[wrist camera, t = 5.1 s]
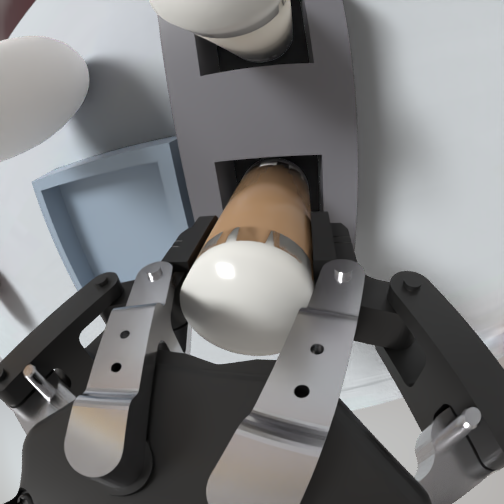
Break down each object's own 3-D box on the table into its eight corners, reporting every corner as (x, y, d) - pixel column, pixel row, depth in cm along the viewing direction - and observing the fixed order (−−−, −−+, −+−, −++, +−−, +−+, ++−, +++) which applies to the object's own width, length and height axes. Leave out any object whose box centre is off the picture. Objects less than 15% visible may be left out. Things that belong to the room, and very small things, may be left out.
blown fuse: (237, 160, 16) (163, 257, 7) (307, 155, 15) (317, 255, 6) (246, 221, 18) (198, 351, 9) (310, 219, 17) (313, 356, 9)
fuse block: (182, -3, 11) (154, -19, 8) (324, -22, 10) (330, -48, 6) (221, 237, 21) (206, 269, 18) (344, 234, 19) (352, 267, 16)
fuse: (223, 12, 12) (144, -49, 4) (288, 3, 11) (275, -81, 3) (231, 66, 14) (153, 45, 6) (297, 59, 13) (297, 17, 5)
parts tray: (53, 169, 20) (31, 181, 17) (187, 133, 17) (168, 142, 14) (102, 291, 27) (88, 310, 24) (223, 298, 24) (214, 322, 22)
